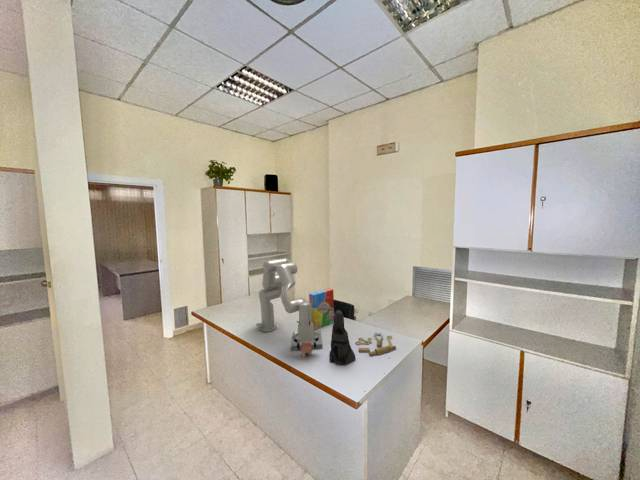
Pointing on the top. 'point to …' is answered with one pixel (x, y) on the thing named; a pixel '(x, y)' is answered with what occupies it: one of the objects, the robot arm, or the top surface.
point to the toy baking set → (379, 343)
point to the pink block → (306, 348)
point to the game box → (322, 308)
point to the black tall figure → (340, 342)
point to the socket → (294, 345)
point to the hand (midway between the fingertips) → (306, 348)
